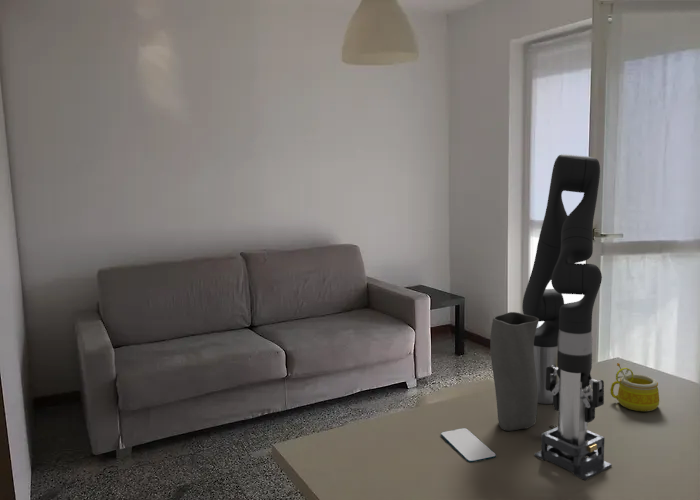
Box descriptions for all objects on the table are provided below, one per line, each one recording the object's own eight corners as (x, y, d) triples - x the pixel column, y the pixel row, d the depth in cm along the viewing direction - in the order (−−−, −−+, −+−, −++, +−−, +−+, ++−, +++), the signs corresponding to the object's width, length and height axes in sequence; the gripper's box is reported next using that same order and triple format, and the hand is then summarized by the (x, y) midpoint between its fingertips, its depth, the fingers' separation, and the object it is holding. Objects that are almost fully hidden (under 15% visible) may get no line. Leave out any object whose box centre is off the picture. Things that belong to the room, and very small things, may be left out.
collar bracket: (534, 455, 144) (534, 430, 143) (560, 443, 150) (560, 419, 149) (585, 480, 133) (585, 453, 132) (611, 466, 138) (612, 440, 137)
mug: (660, 402, 172) (662, 362, 170) (656, 417, 163) (658, 375, 161) (613, 394, 179) (614, 356, 177) (606, 407, 170) (608, 367, 168)
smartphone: (498, 459, 145) (466, 430, 160) (498, 455, 144) (466, 427, 159) (468, 465, 142) (439, 435, 157) (468, 461, 142) (439, 432, 157)
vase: (507, 439, 153) (508, 326, 149) (482, 420, 165) (482, 315, 160) (547, 431, 157) (549, 321, 152) (520, 413, 169) (521, 310, 164)
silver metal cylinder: (559, 466, 139) (561, 364, 135) (555, 452, 145) (558, 355, 141) (588, 468, 138) (592, 365, 134) (583, 455, 144) (587, 356, 140)
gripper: (612, 353, 133) (610, 421, 136) (558, 338, 145) (557, 401, 148) (592, 360, 129) (590, 430, 132) (538, 344, 141) (537, 409, 143)
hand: (573, 415), depth 140 cm, fingers open, 8 cm apart
